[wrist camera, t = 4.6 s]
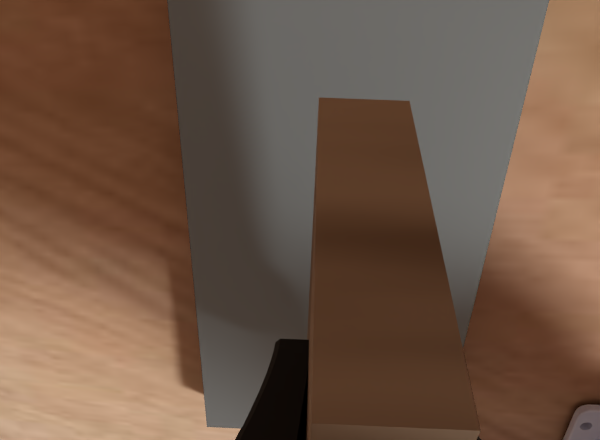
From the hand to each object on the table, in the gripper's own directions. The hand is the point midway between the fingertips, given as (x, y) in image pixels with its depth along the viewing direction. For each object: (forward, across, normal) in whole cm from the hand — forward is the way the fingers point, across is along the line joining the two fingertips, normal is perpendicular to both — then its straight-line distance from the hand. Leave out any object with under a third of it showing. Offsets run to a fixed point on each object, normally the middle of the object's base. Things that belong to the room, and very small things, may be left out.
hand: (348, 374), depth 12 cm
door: (+3, 0, +1) cm, 3 cm away
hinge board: (+9, 0, +2) cm, 9 cm away
